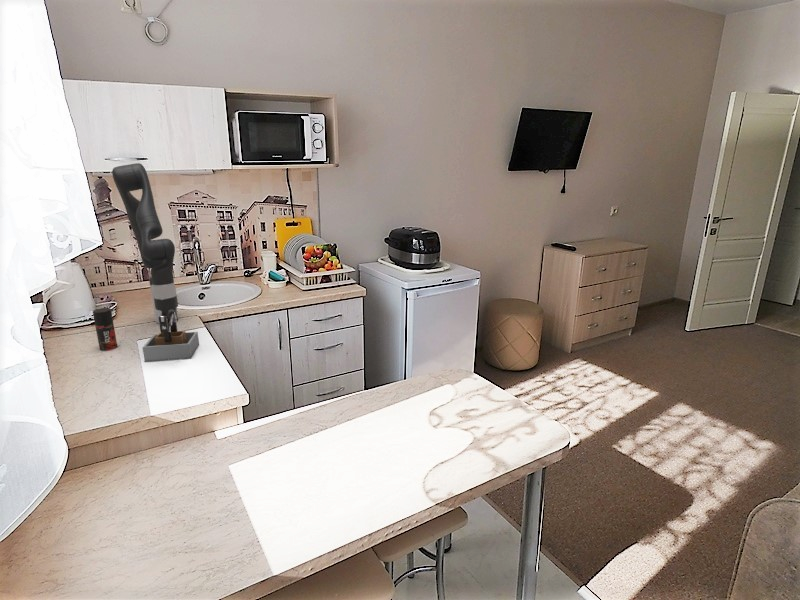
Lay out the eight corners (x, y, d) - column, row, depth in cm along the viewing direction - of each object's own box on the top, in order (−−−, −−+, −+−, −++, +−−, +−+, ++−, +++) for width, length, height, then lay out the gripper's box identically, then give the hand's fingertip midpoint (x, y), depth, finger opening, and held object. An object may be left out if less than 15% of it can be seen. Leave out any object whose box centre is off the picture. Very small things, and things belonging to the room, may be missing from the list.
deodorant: (104, 351, 187) (96, 313, 183) (97, 348, 190) (89, 310, 186) (120, 347, 191) (113, 309, 187) (113, 344, 195) (106, 307, 191)
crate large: (156, 348, 190) (154, 334, 188) (199, 345, 192) (197, 331, 191) (144, 361, 177) (142, 347, 175) (191, 358, 179) (189, 344, 178)
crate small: (162, 349, 187) (159, 332, 185) (187, 347, 188) (185, 331, 186) (157, 355, 181) (154, 338, 179) (183, 353, 182) (181, 336, 180)
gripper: (159, 290, 185) (165, 332, 189) (147, 301, 171) (154, 345, 176) (181, 289, 186) (186, 330, 191) (171, 300, 173) (177, 344, 177)
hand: (171, 337), depth 183 cm, fingers open, 8 cm apart
